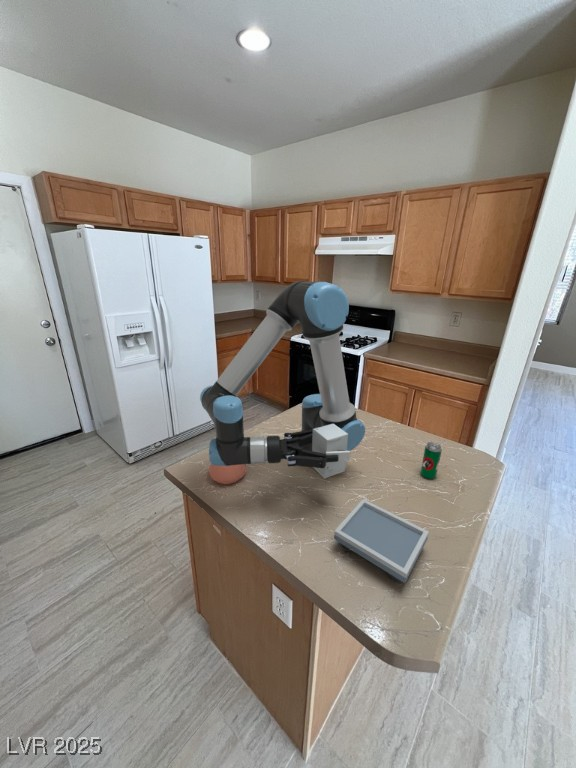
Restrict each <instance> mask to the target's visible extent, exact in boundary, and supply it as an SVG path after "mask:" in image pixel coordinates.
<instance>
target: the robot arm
mask: <svg viewBox="0 0 576 768" xmlns="http://www.w3.org/2000/svg"><path fill="white" fill-rule="evenodd" d="M349 309H350V306H349V299H348V297H347V295H346V293H345V291H344V290H342V288H341V287H340V286H338V285H336V284H333V283H329V282H327V281H308V280H299V281H294V282H292V283H291V284H289V285H288V286H286V287H285V288H283V290H282V291H281V292H280V293H279V294H278V295H277V297H276V298H275V299H274V300H273V301H272V303H271V304H270V305H269V307H268V308H267V309H266V312H265V313H266V316H265V317H264V319H263V320H262V321H261V322H260V324H259V325H258V326H257V328H255V330H254V332H253V333H252V335H251V336H250V337H249V338H248V339H247V341H246V342H245V343H244V345H242V347H241V349H240V350H239V351H238V353H236V355H235V356H234V358H233V359H232V360H231V361H230V363H229V364H228V365H227V366H226V368H225V369H224V371H223V372H222V373H221V374H220V375H219V377H218V379H216V381H215V382H214V383H213V385H209V386H207V387H204V388H203V389H202V391H201V392H200V395H199V400H200V403H201V406H202V408H203V409H204V410H205V411H206V413H207V414H208V416H209V418H210V419H211V421H212V423H213V424H214V428H215V438H212V439H210V441H209V446H208V453H209V454H208V457H209V463H210V464H212V465H214V466H230V465H241V464H246V465H260V464H265V463H266V462H267V463H269V464H280V463H281V461H282V460H287V467H289V468H291V467H305V468H314V467H315V468H325V466H326V463H327V462H338V461H346V462H347V461H351V460H350V459H351V451H352V450H354V449H356V448H357V447H358V446H359V445H360V443H361V442H362V441H363V440H364V436H365V435H366V427H365V424H364V423H363V422H362V420H359V419H358V417H357V412H356V407H355V405H354V404H353V403H351V402H350V397H349V391H348V385H347V379H346V371H345V366H344V365H345V364H344V359H343V353H342V352H343V351H342V346H341V338H340V334H341V333H342V332H343V330H344V324H345V322H346V320H347V317H348V316H349V311H350V310H349ZM297 324H299V325H300V328H301V330H300V331H301V334H302V337H303V338H304V339H306V340H308V341H309V347H310V350H311V355H312V360H313V365H314V370H315V375H316V380H317V381H316V382H317V387H318V390H319V391H318V392H319V393H314V394H310V395H307V396H305V397H304V398H303V400H302V403H301V430H300V431H294V432H284V434H283V438H282V439H281V437H280V436H279V435H268V436H266V437H265V435H264V436H263V435H260V436H245V430H244V409H243V403H242V400H241V399H240V398H239V397H238V394H239V393H240V392H241V391H242V390H243V388H244V387H245V385H246V384H247V382H248V381H249V380H250V379H251V377H252V376H253V375H254V373H256V371H257V370H258V368H259V367H260V366H261V364H262V363H263V362H264V361H265V360H266V358H267V357H268V356H269V354H270V353H271V352H272V350H273V349H274V348H275V347H276V345H277V344H278V343H279V341H280V340H281V339H282V337H283V336H284V335H285V333H286V332H290V331H292V330H293V328H294V327H295V326H296V325H297ZM330 424H335V425H336V426H338V427H339V428H340V429H342V430H343V431H345V432H346V433H347V434H348V441H347V451H332V452H326V454H323V453H318V452H314V451H312V436H313V429H315V428H319V427H322V426H326V425H330ZM320 457H322V458H320ZM320 463H321V464H320ZM315 468H314V469H315Z"/></svg>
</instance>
